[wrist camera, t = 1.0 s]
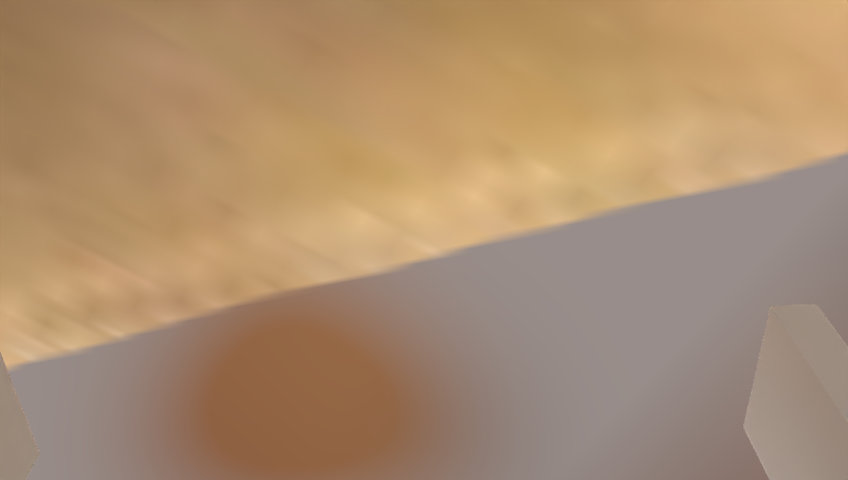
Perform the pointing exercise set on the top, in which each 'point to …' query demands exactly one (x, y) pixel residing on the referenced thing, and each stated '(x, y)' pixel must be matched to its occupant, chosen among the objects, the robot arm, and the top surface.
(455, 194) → the top surface
